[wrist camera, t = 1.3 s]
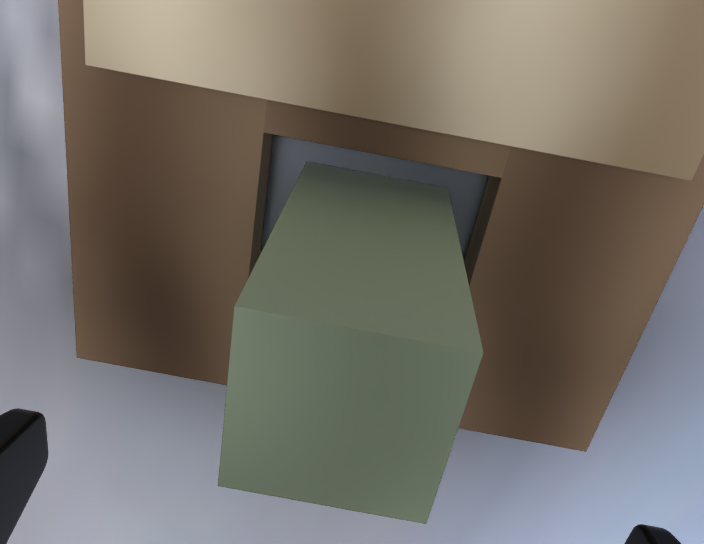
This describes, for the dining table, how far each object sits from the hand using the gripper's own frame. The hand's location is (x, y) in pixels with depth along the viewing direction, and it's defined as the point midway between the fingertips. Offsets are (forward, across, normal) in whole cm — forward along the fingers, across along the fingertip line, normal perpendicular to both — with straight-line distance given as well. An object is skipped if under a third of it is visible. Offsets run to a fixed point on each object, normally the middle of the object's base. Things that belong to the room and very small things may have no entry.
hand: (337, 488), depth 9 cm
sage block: (+10, 0, 0) cm, 10 cm away
